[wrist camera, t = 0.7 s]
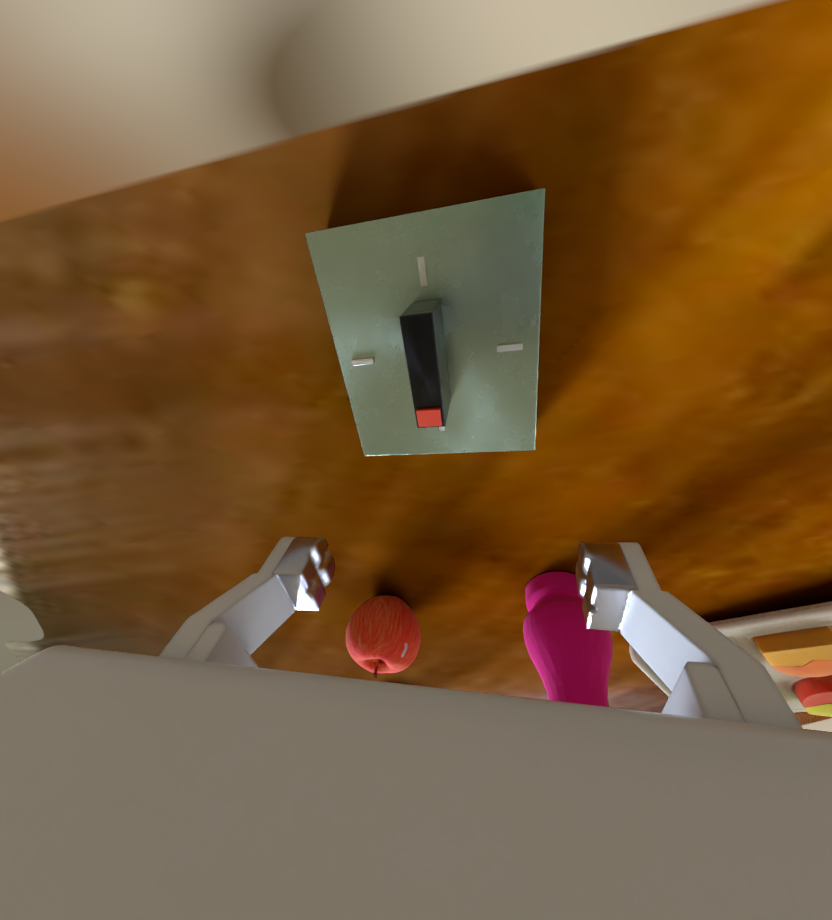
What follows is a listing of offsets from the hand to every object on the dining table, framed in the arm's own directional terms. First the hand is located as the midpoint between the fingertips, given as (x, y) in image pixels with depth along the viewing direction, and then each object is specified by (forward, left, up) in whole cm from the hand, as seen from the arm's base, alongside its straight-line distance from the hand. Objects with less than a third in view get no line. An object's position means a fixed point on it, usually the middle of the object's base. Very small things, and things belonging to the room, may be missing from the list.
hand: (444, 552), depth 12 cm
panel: (-2, -2, -16) cm, 16 cm away
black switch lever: (-3, -2, -13) cm, 13 cm away
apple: (+27, -11, -16) cm, 33 cm away
